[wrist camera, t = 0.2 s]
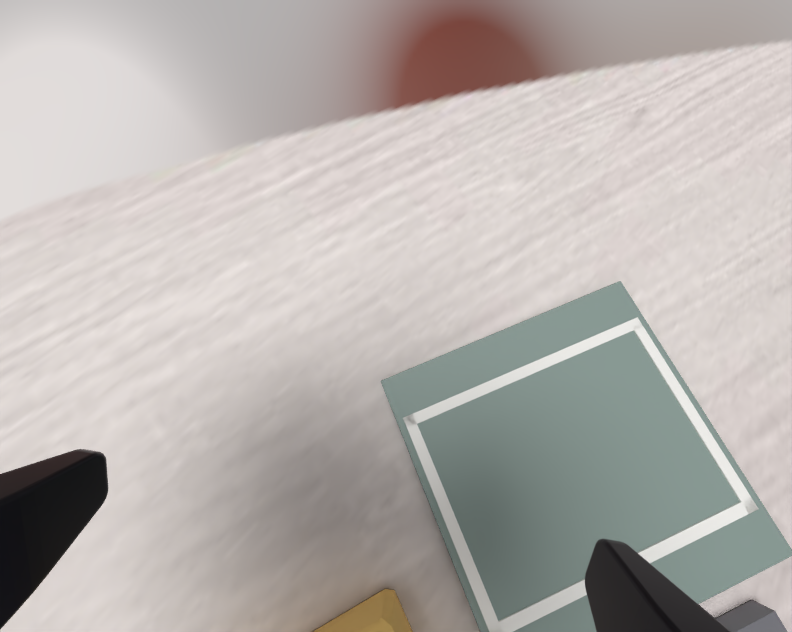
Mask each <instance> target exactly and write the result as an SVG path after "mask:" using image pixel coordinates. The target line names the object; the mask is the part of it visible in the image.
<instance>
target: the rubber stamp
mask: <svg viewBox="0 0 792 632" xmlns="http://www.w3.org/2000/svg"><path fill="white" fill-rule="evenodd" d="M313 632H413V631H412V629H411V627H410V625H409V622H408V620H407V618H406V615H405V613H404V611H403V609H402V606H401V604H400V602H399V599H398V597H397V595H396V593H395V590H390V589H384V590H382V591H381V592H379V593H377V594H376V595H374V596H372V597H370V598H369V599H367V600H365V601H364V602H362V603H360V604H359V605H357V606H355V607H354V608H352V609H350V610H349V611H347V612H345V613H344V614H342V615H340V616H338V617H337V618H335V619H333V620H332V621H330V622H328V623H327V624H325V625H323V626H322V627H320V628H318V629H317V630H315V631H313Z"/></svg>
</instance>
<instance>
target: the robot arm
mask: <svg viewBox="0 0 792 632" xmlns="http://www.w3.org/2000/svg"><path fill="white" fill-rule="evenodd" d="M107 493H108V478H107V464H106V457H105V456H104V454H103V453H101V452H97V451H91V450H85V449H78V450H74V451H71V452H68V453H65V454H62V455H58V456H55V457H52V458H49V459H46V460H43V461H40V462H37V463H34V464H30V465H27V466H24V467H21V468H18V469H15V470H12V471H9V472H6V473H2V474H0V629H1V628H2V627H3V626H4V625H5V624H6V623H7V621H8V620H9V619H10V618H11V617H12V616H13V615H14V614H15V613H16V611H17V610H18V609H19V608H20V607H21V606H22V605H23V604H24V602H25V601H26V600H27V599H28V598H29V597H30V596H31V594H32V593H33V592H34V591H35V590H36V588H37V587H38V586H39V585H40V583H41V582H42V581H43V580H44V579H45V577H46V576H47V575H48V574H49V572H50V571H51V570H52V568H53V567H54V566H55V565H56V563H57V562H58V561H59V559H60V558H61V557H62V556H63V554H64V553H65V552H66V551H67V549H68V548H69V547H70V545H71V544H72V543H73V542H74V540H75V539H76V538H77V536H78V535H79V534H80V533H81V531H82V530H83V529H84V527H85V526H86V525H87V524H88V522H89V521H90V520H91V519H92V517H93V516H94V515H95V513H96V512H97V511H98V510H99V508H100V507H101V506H102V504H103V503H104V501H105V499H106V496H107ZM585 588H586V593H587V597H588V601H589V605H590V608H591V612H592V616H593V620H594V624H595V628H596V632H730V631H729V630H728V629H727V628H726V627H725V626H723V625H722V624H721V623H720V622H719V621H717V620H716V619H715V618H714V617H713V616H712V615H710V614H709V613H708V612H707V611H706V610H704V609H703V608H702V607H701V606H700V605H698V604H697V603H696V602H695V601H694V600H693V599H691V598H690V597H689V596H688V595H687V594H685V593H684V592H683V591H682V590H681V589H680V588H678V587H677V586H676V585H675V584H674V583H672V582H671V581H670V580H669V579H668V578H667V577H665V576H664V575H663V574H662V573H661V572H659V571H658V570H657V569H656V568H655V567H654V566H652V565H651V564H650V563H649V562H648V561H646V560H645V559H644V558H643V557H642V556H640V555H639V554H638V553H637V552H636V551H635V550H633V549H632V548H631V547H630V546H629V545H627V544H626V543H624V542H621V541H616V540H610V539H599V540H598V541H597V542H596V544H595V547H594V550H593V553H592V555H591V558H590V561H589V564H588V567H587V570H586V574H585Z"/></svg>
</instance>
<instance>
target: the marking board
mask: <svg viewBox="0 0 792 632" xmlns="http://www.w3.org/2000/svg"><path fill="white" fill-rule="evenodd" d="M381 383H382V386H383V388H384V391H385V393H386V396H387V398H388V401H389V403H390V406H391V408H392V411H393V413H394V416H395V418H396V421H397V423H398V426H399V428H400V431H401V433H402V436H403V438H404V441H405V443H406V446H407V448H408V451H409V453H410V456H411V459H412V461H413V464H414V466H415V469H416V471H417V474H418V476H419V479H420V481H421V484H422V486H423V489H424V491H425V494H426V496H427V499H428V501H429V504H430V506H431V509H432V511H433V514H434V516H435V519H436V521H437V524H438V526H439V529H440V531H441V534H442V536H443V539H444V541H445V544H446V546H447V549H448V552H449V554H450V557H451V559H452V562H453V564H454V567H455V569H456V572H457V574H458V577H459V579H460V582H461V584H462V587H463V589H464V592H465V594H466V597H467V599H468V602H469V604H470V607H471V609H472V612H473V614H474V617H475V619H476V622H477V624H478V627H479V629H480V632H596V628H595V624H594V620H593V616H592V612H591V608H590V605H589V601H588V597H587V593H586V588H585V574H586V570H587V567H588V564H589V561H590V558H591V555H592V553H593V550H594V547H595V544H596V542H597V541H598V540H599V539H610V540H616V541H621V542H624V543H626V544H627V545H629V546H630V547H631V548H632V549H633V550H635V551H636V552H637V553H638V554H639V555H640V556H642V557H643V558H644V559H645V560H646V561H648V562H649V563H650V564H651V565H652V566H654V567H655V568H656V569H657V570H658V571H659V572H661V573H662V574H663V575H664V576H665V577H667V578H668V579H669V580H670V581H671V582H672V583H674V584H675V585H676V586H677V587H678V588H680V589H681V590H682V591H683V592H684V593H685V594H687V595H688V596H689V597H690V598H691V599H693V600H694V601H695V602H696V603H697V604H700V603H701V602H703V601H705V600H707V599H709V598H711V597H713V596H715V595H717V594H719V593H721V592H723V591H725V590H727V589H729V588H730V587H732V586H734V585H736V584H738V583H740V582H742V581H744V580H746V579H748V578H750V577H752V576H754V575H756V574H758V573H759V572H761V571H763V570H765V569H767V568H769V567H771V566H773V565H775V564H777V563H779V562H781V561H783V560H785V559H787V558H789V557H790V556H792V549H791V548H790V546H789V545H788V543H787V542H786V540H785V538H784V537H783V535H782V534H781V532H780V531H779V529H778V527H777V526H776V524H775V523H774V521H773V520H772V518H771V516H770V515H769V513H768V512H767V510H766V509H765V507H764V505H763V504H762V502H761V501H760V499H759V498H758V496H757V494H756V493H755V491H754V490H753V488H752V487H751V485H750V484H749V482H748V480H747V479H746V477H745V476H744V474H743V473H742V471H741V469H740V468H739V466H738V465H737V463H736V462H735V460H734V458H733V457H732V455H731V454H730V452H729V451H728V449H727V447H726V446H725V444H724V443H723V441H722V440H721V438H720V436H719V435H718V433H717V432H716V430H715V429H714V427H713V425H712V424H711V422H710V421H709V419H708V418H707V416H706V414H705V413H704V411H703V410H702V408H701V407H700V405H699V403H698V402H697V400H696V399H695V397H694V396H693V394H692V392H691V391H690V389H689V388H688V386H687V385H686V383H685V381H684V380H683V378H682V377H681V375H680V374H679V372H678V371H677V369H676V367H675V366H674V364H673V363H672V361H671V360H670V358H669V356H668V355H667V353H666V352H665V350H664V349H663V347H662V345H661V344H660V342H659V341H658V339H657V338H656V336H655V334H654V333H653V331H652V330H651V328H650V327H649V325H648V323H647V322H646V320H645V319H644V317H643V316H642V314H641V312H640V311H639V309H638V308H637V306H636V305H635V303H634V301H633V300H632V298H631V297H630V295H629V294H628V292H627V290H626V289H625V287H624V286H623V284H622V283H621V281H619V282H617V283H614V284H612V285H610V286H607V287H605V288H602V289H600V290H598V291H595V292H593V293H590V294H588V295H586V296H583V297H581V298H578V299H576V300H574V301H571V302H569V303H567V304H564V305H562V306H559V307H557V308H555V309H552V310H550V311H547V312H545V313H543V314H540V315H538V316H535V317H533V318H531V319H528V320H526V321H523V322H521V323H519V324H516V325H514V326H511V327H509V328H507V329H504V330H502V331H499V332H497V333H495V334H492V335H490V336H487V337H485V338H483V339H480V340H478V341H475V342H473V343H471V344H468V345H466V346H463V347H461V348H459V349H456V350H454V351H451V352H449V353H447V354H444V355H442V356H440V357H437V358H435V359H432V360H430V361H428V362H425V363H423V364H420V365H418V366H416V367H413V368H411V369H408V370H406V371H404V372H401V373H399V374H396V375H394V376H392V377H389V378H387V379H384V380H382V381H381Z"/></svg>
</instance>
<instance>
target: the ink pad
mask: <svg viewBox="0 0 792 632" xmlns="http://www.w3.org/2000/svg"><path fill="white" fill-rule="evenodd" d="M716 620H717V621H719V622H720V623H721V624H722V625H723V626H725V627H726V628H727V629H728V630H729V631H730V632H787V630H786V629H785V627H784V625H783V624H782V622H781V620H780V619H779V617H778V615H777V614H776V612H775V611H774V610H772V609H770V608H768V607H766V606H764V605H762V604H760V603H758V602H756V601H754V600H750V601H749V602H747V603H745V604H743V605H741V606H739V607H737V608H735V609H733V610H731V611H729V612H728V613H726V614H724V615H722V616H720V617H718V618H716Z"/></svg>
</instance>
